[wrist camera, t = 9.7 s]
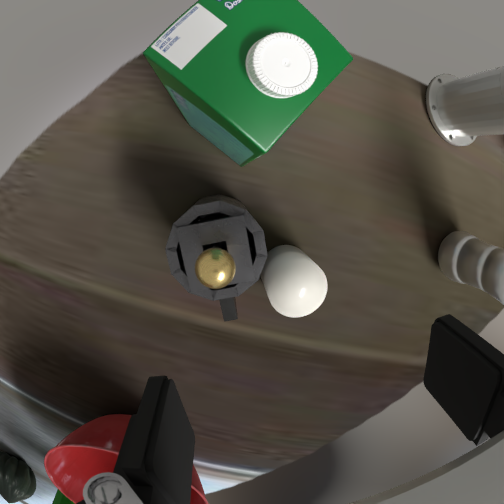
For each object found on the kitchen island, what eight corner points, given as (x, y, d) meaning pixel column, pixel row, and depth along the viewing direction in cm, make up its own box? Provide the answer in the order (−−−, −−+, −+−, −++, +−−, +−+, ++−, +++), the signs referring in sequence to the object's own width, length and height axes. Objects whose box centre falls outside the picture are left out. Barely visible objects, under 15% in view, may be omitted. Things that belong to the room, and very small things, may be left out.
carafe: (247, 189, 40) (258, 194, 28) (262, 277, 43) (278, 316, 31) (176, 202, 39) (155, 214, 27) (195, 289, 42) (185, 333, 30)
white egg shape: (306, 240, 42) (324, 254, 35) (311, 287, 44) (329, 310, 36) (256, 249, 42) (263, 266, 34) (264, 297, 44) (272, 322, 36)
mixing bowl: (95, 469, 51) (79, 518, 36) (52, 375, 44) (16, 429, 29) (215, 480, 53) (216, 536, 38) (203, 387, 47) (199, 458, 32)
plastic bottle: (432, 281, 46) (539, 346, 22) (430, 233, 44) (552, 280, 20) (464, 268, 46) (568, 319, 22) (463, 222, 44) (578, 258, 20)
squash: (-14, 444, 42) (-22, 488, 33) (34, 473, 45) (26, 516, 36) (2, 442, 53) (-6, 481, 44) (45, 466, 56) (37, 504, 47)
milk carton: (241, 167, 39) (271, 151, 15) (188, 124, 37) (140, 51, 13) (286, 117, 38) (370, 45, 14) (233, 75, 36) (250, -41, 12)
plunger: (237, 205, 38) (248, 226, 22) (245, 252, 39) (261, 304, 24) (189, 215, 38) (165, 242, 22) (199, 261, 39) (184, 317, 23)
